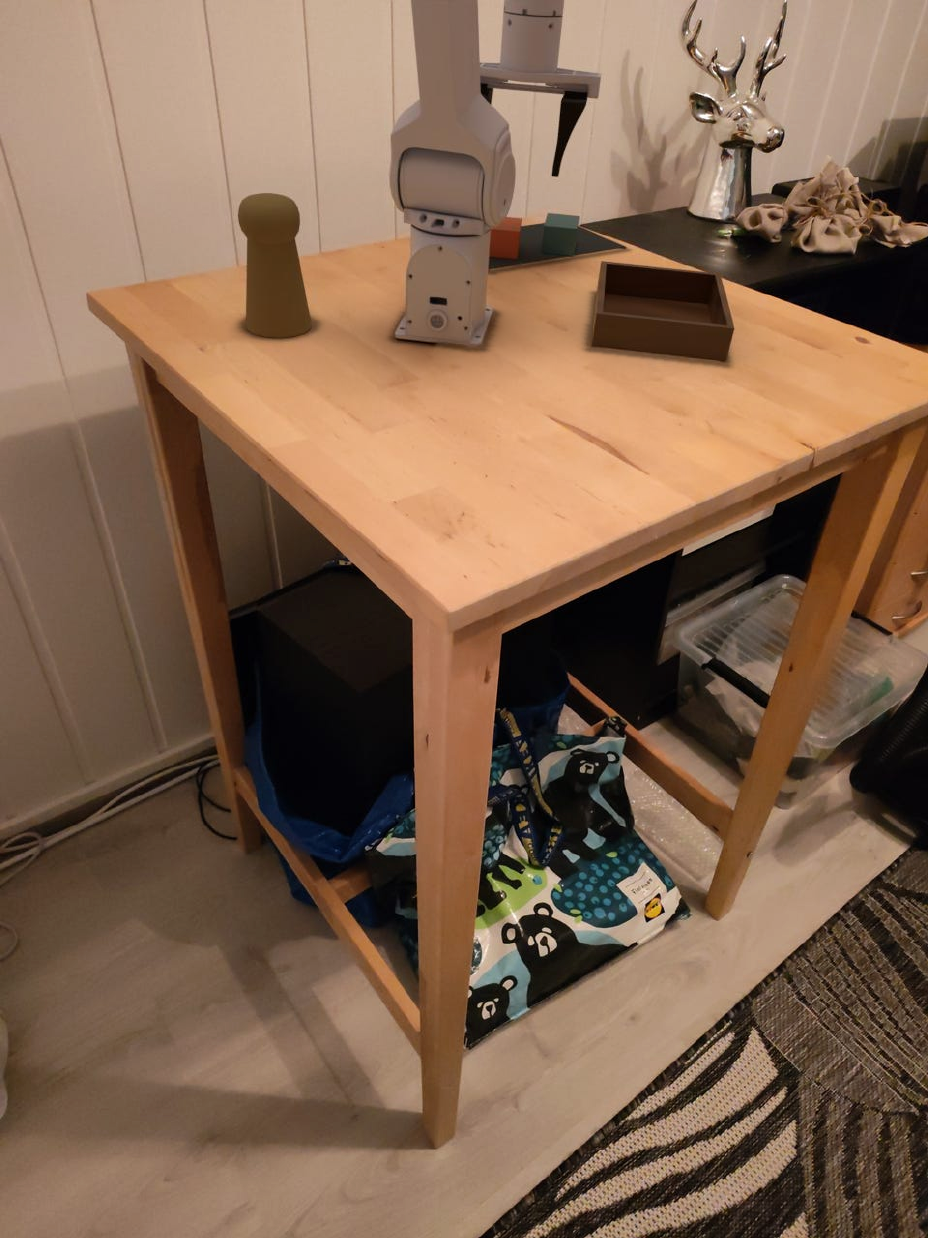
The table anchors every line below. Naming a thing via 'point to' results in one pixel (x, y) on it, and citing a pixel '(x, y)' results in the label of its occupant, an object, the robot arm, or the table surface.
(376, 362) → the table surface
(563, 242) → the block
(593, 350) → the table surface
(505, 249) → the block
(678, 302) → the brown open tray
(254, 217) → the cork
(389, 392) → the table surface
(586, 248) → the mat
